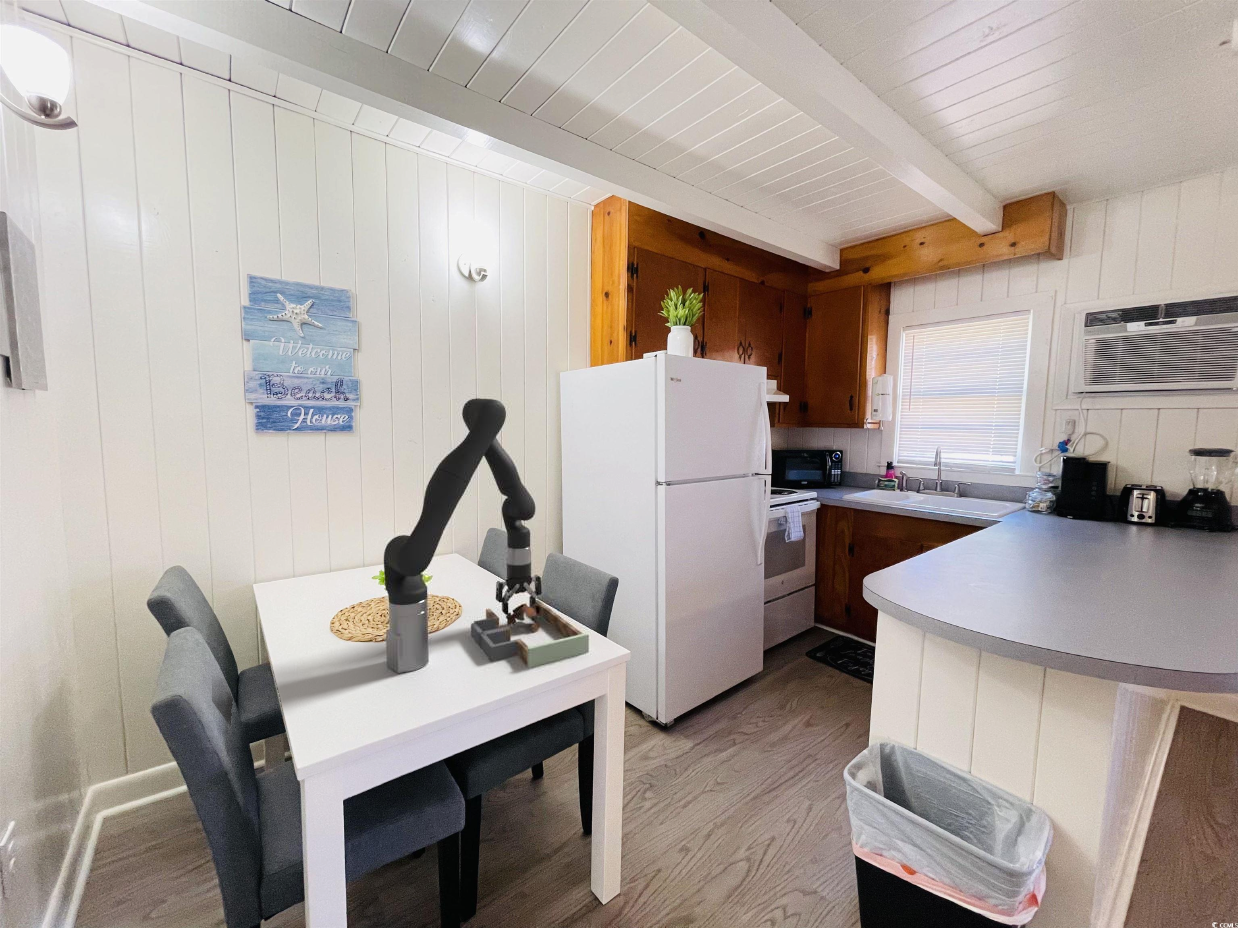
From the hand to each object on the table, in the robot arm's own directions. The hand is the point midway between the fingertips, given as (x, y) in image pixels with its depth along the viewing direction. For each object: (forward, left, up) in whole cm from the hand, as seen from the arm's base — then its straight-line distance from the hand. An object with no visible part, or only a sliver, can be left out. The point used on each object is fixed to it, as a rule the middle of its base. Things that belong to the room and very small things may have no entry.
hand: (519, 611), depth 159 cm
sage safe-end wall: (-9, -27, -4) cm, 29 cm away
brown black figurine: (-1, -4, -4) cm, 6 cm away
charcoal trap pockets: (-15, -7, -4) cm, 17 cm away
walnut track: (-3, -10, -4) cm, 12 cm away
